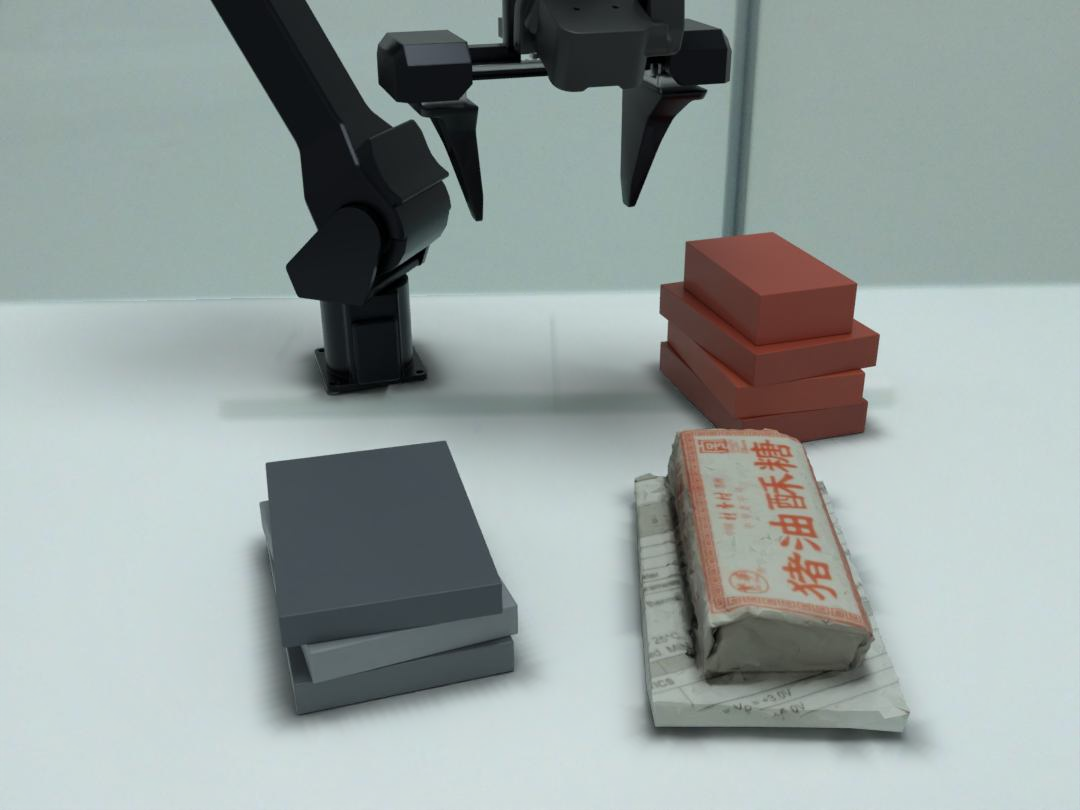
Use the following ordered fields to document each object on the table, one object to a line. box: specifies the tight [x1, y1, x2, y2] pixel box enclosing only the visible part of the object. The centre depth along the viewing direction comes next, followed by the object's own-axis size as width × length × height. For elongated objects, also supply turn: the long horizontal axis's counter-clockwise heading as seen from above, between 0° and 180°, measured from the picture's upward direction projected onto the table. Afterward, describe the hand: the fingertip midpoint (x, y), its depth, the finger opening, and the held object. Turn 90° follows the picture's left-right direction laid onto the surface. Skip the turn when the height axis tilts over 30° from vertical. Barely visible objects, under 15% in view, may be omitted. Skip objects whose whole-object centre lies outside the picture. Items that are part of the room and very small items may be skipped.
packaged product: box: [633, 428, 911, 733], centre depth 51 cm, size 18×5×10 cm
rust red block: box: [683, 231, 858, 346], centre depth 68 cm, size 10×6×3 cm, turn 17°
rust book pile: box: [658, 280, 881, 443], centre depth 70 cm, size 13×9×6 cm
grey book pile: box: [258, 440, 519, 716], centre depth 52 cm, size 13×10×4 cm
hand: (554, 212), depth 67 cm, fingers open, 9 cm apart
